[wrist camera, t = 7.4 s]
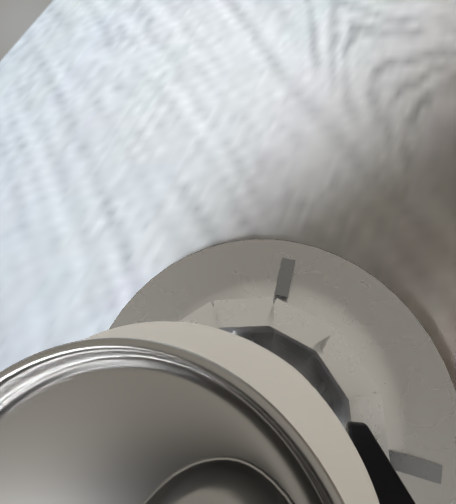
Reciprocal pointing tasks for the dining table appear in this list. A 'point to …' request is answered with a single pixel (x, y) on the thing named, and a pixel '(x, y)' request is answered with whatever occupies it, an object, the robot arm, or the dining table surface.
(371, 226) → the dining table surface
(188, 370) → the can
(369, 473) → the robot arm
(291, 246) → the rosette
